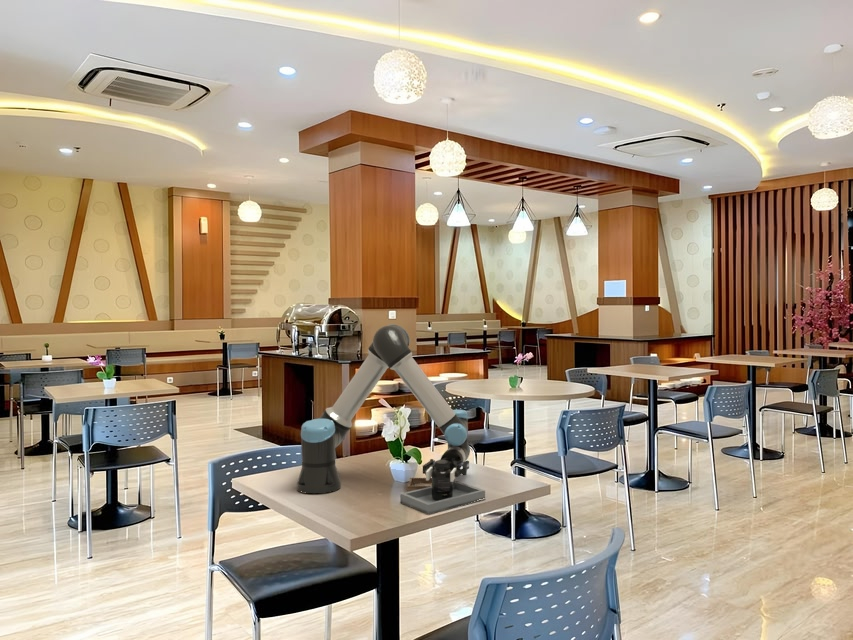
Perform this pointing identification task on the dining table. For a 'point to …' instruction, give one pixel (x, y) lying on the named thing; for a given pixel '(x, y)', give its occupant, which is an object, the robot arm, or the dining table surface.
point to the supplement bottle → (441, 481)
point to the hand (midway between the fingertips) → (439, 476)
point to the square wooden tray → (417, 480)
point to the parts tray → (428, 505)
